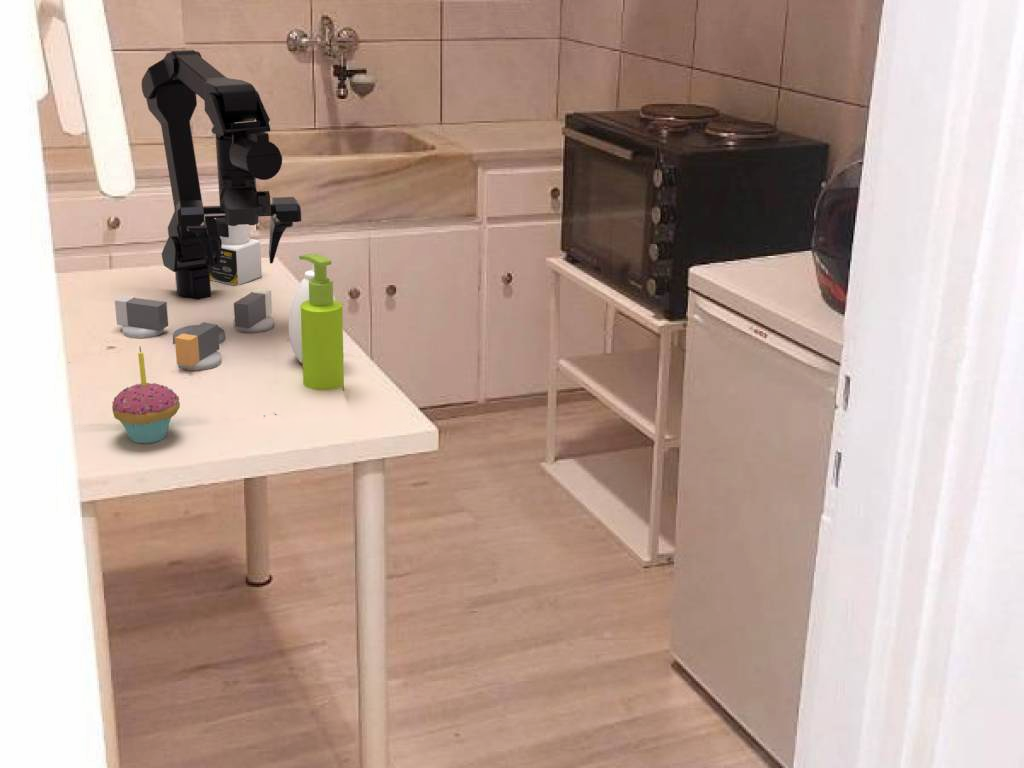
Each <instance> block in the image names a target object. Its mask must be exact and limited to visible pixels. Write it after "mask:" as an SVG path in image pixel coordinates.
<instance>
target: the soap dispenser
mask: <svg viewBox="0 0 1024 768" xmlns="http://www.w3.org/2000/svg"><path fill="white" fill-rule="evenodd" d="M298 258H299V260H305V261H306V262H307V261H308V262H310V263H311V264H312V263H314V275H315V278H313V279H311V280H310V281H309V300H307V301H305V302H303V303H302V304H301V334H302V362H303V363H302V383H303V385H304V387H306V388H308V389H312V390H318V391H324V390H325V391H328V390H334V389H337V388H340V387H341V389H342V391H343V392H344V391H345V374H344V372H345V370H344V369H345V367H344V365H345V364H344V332H343V331H344V327H343V325H344V324H343V323H344V322H343V321H344V320H343V303H342V302H341V301H339V300H333V294H334V281H333V280H332V279H331V278H329V277H328V276H327V275H328V274H327V272H328V271H327V266H331V265H332V260H331V259H330V258H328V257H325V256H323V255H321V254H318V253H308V254H303V255H298Z"/></svg>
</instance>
